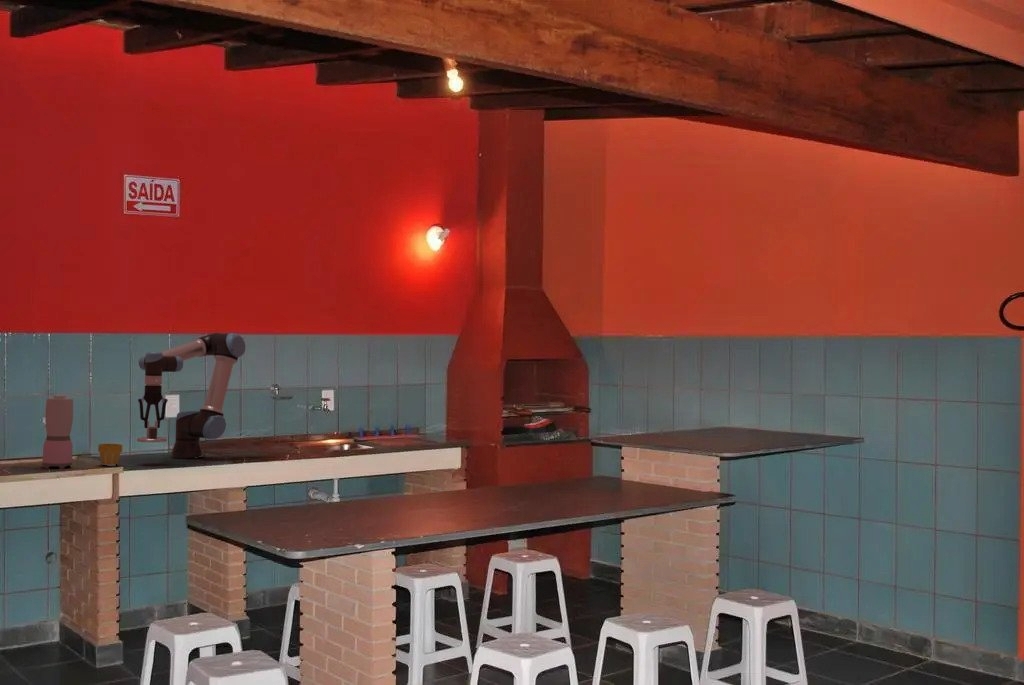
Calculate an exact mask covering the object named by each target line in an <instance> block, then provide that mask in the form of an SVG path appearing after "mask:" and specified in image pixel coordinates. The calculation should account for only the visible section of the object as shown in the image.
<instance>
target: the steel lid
mask: <svg viewBox="0 0 1024 685" xmlns="http://www.w3.org/2000/svg"><path fill="white" fill-rule="evenodd" d="M136 442H139V443H162V442H167V437H161V436H158V428H155V426H149V435H146V436H143V437H142V436H141V437H137V438H136Z"/></svg>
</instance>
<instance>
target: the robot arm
mask: <svg viewBox="0 0 1024 685" xmlns="http://www.w3.org/2000/svg"><path fill="white" fill-rule="evenodd" d="M245 351H246V342H245V341H244V338H243V337H242V336H241V335H240V334H238V333H232V332H230V333H229V332H227V333H224V332H222V333H221V332H215V333H214V332H212V333H209V334H205V335H203V336H200V337H198V338H194V339H193V340H192V341H191V342H188V343H185V344H182V345H178V346H175V347H173V348H172V347H171V348H169V349H165V350H163V351H147V352H146V353H145V354H143V355H141V356H139V359H138V367H139V368H140V370H143V371H144V372H145V373H144V384H145V385H144V394H143V396H142V397H141V398H137V401H138V404H139V419H140V420H142V421H144V422H143V423H144V425H143V428H144V429H146V434H145V435H146V436H147V435H149V427H150V421H149V415H150V409H151V406H154V408H155V409H154V410H155V416H156V418H155V419H156V420H155V421H154V427H155V428H157V429H160V427H161V421H163V420H165V415H166V405H167V403H168V401H169V400H168V399H167V398H165V397H163V395H162V390H163V388H162V387H163V386H162V384H163V378H162V376H163V373H176V372H180V371H181V370H182V369H183V367H184V361H187V360H189V359H192V358H196V357H200V358H202V357H205V356H206V357H208V356H213V358H214V359H215V364H214V367H213V371H212V375H211V379H210V382H209V386H208V390H207V395H206V399H205V402H204V405H203V407H201V408H200V409H199V410H192V411H191V410H189V411H181V412H180V411H179V412H177V413H176V416H175V417H176V419H175V441H174V445H173V447H172V450H171V452H170V457H171V458H173V459H182V458H183V459H185V460H186V458H194V459H196V458H195V457H199V456H201V455H203V449H202V447H201V443H200V440H201V439H208V440H213V439H214V440H215V439H218V438H220V437H221V436H222V435H223V434H224V433H225V431H226V427H227V422H226V419H225V417H224V412H223V407H224V401H225V398H226V394H227V390H228V386H229V382H230V379H231V375H232V370H233V367H234V365H235V364H236V363H238V359H239V358H240V357H242V356H243V355H245ZM144 401H145V402H146V409H145V413H144ZM160 402H162V404H161V412H160V409H159V407H160V406H159V404H160ZM160 413H161V414H160ZM203 456H204V455H203Z"/></svg>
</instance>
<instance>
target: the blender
mask: <svg viewBox="0 0 1024 685" xmlns="http://www.w3.org/2000/svg"><path fill="white" fill-rule="evenodd" d="M44 415H45V419H44V420H45V422H44V423H45V429H46V430H45V431H46V439H45V440H44V442H43V445H42V464H41V465H42V466H43V467H44V469H48V470H49V469H50V467H58V468H59V470H64V469H65V467H67V466H73V450H74V447H73V442H72V440H71V431H72V427H73V421H74V420H73V419H74V399H73V398H71V397H67V395H63V394H62V395H61V394H56V395H55V394H54V395H53V397H47V398H46V401H45V414H44ZM63 468H64V469H63Z"/></svg>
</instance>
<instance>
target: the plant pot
mask: <svg viewBox="0 0 1024 685" xmlns="http://www.w3.org/2000/svg"><path fill="white" fill-rule="evenodd" d="M97 446H98V447H97V448H98V449H97V451H98V453H99V456H100V464H101V463H103V464H117V465H118V463H119V459H120V455H121V453H122V452H123V444H120V443H99V444H98V445H97Z"/></svg>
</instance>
